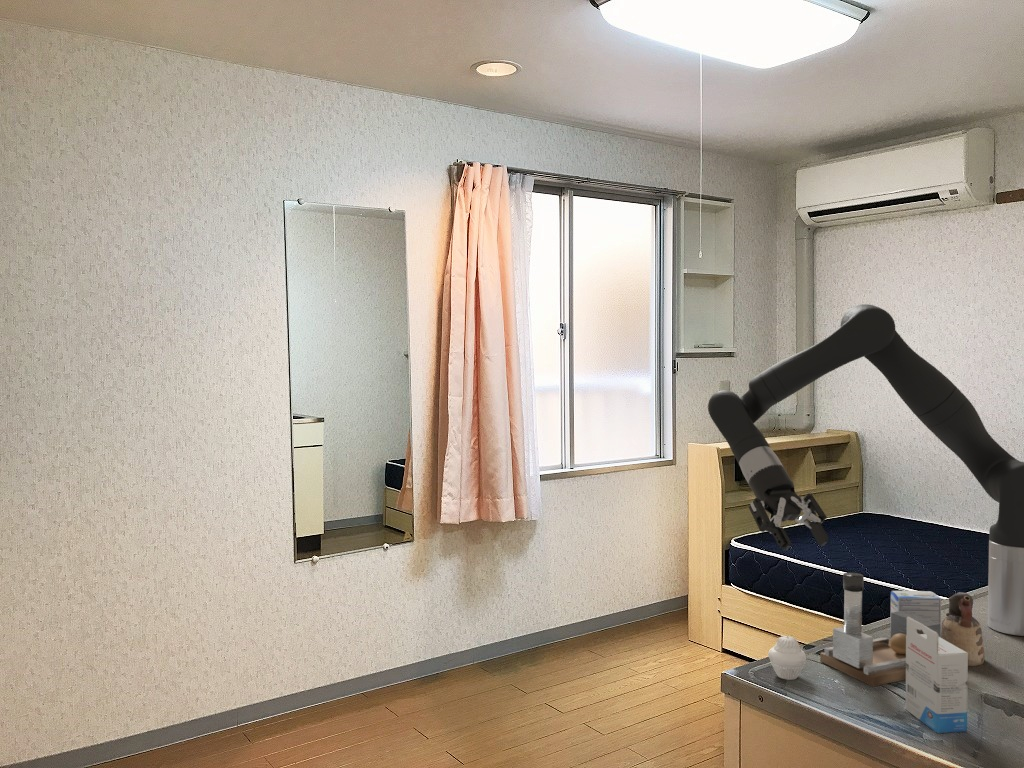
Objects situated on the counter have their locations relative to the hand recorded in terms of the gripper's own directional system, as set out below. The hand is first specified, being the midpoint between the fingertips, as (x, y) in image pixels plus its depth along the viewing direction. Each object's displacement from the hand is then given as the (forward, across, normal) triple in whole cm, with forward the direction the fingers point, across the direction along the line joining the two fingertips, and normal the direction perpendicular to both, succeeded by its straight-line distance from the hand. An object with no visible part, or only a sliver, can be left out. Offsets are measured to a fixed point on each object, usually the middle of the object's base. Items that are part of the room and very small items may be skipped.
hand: (806, 545), depth 153 cm
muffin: (+20, -12, +8) cm, 24 cm away
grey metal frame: (+21, +7, +5) cm, 23 cm away
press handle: (+21, 0, +4) cm, 21 cm away
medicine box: (+16, +24, +12) cm, 31 cm away
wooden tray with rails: (+22, +8, +6) cm, 24 cm away
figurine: (+24, +22, +4) cm, 33 cm away
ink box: (+36, -2, -8) cm, 36 cm away
